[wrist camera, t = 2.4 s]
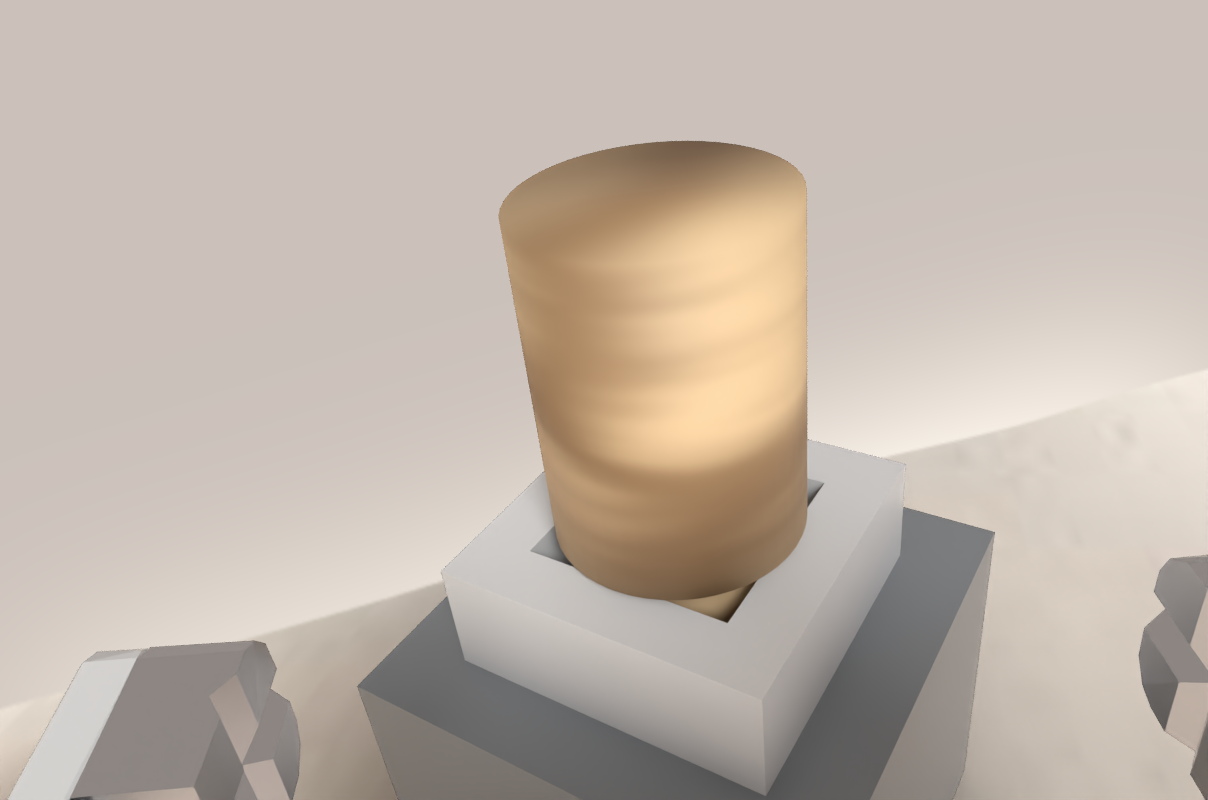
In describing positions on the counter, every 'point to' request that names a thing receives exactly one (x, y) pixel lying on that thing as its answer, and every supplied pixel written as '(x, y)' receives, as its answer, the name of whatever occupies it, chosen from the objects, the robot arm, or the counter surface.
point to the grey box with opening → (698, 665)
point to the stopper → (667, 362)
